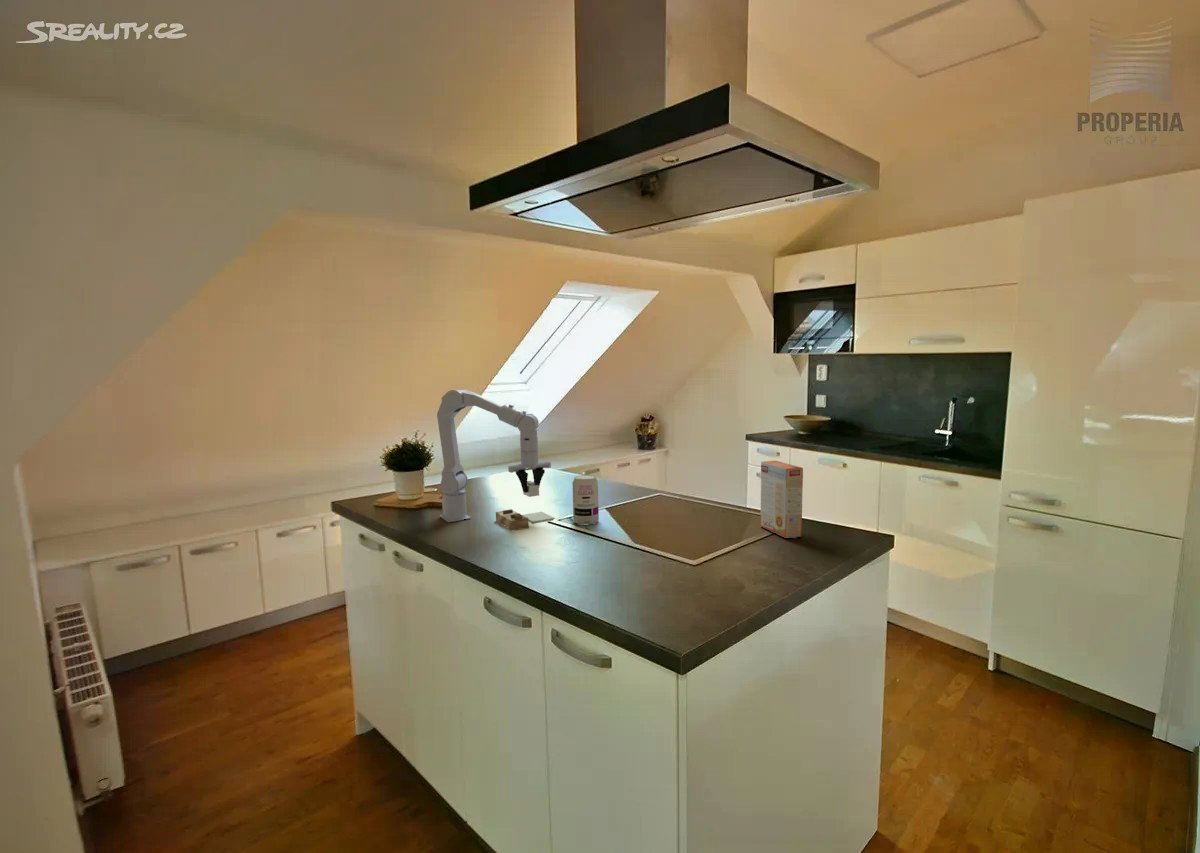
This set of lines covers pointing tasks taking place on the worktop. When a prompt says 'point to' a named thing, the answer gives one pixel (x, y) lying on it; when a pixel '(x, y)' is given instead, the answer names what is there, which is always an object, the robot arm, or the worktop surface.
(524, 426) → the robot arm
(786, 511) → the cracker box
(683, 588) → the worktop surface
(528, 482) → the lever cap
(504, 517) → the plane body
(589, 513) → the supplement can
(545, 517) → the rubber mat
